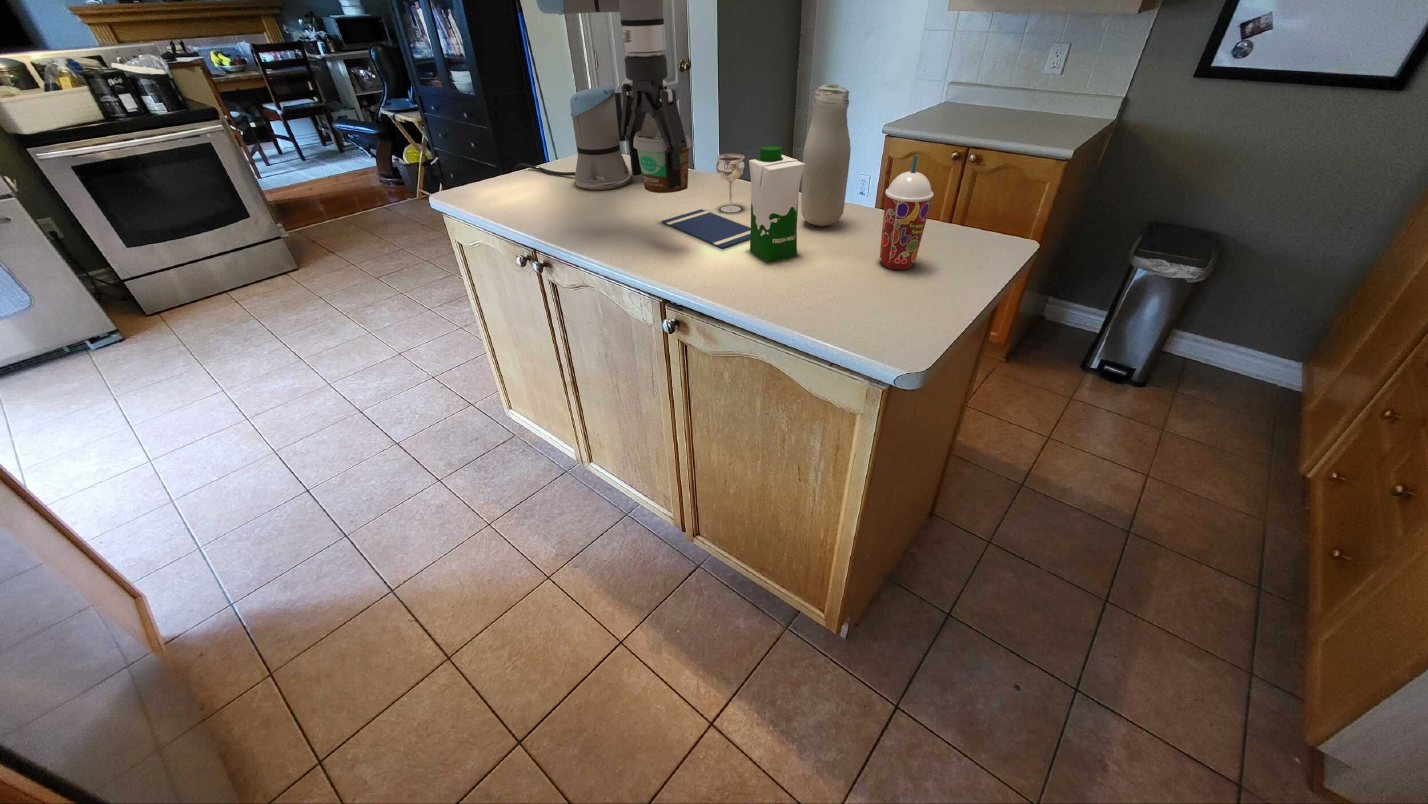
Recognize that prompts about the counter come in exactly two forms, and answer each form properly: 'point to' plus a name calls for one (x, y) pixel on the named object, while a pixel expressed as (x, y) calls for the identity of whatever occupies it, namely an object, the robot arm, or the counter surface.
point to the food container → (659, 163)
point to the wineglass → (730, 174)
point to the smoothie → (904, 218)
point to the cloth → (710, 228)
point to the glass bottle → (826, 157)
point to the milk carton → (774, 204)
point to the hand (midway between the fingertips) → (655, 180)
